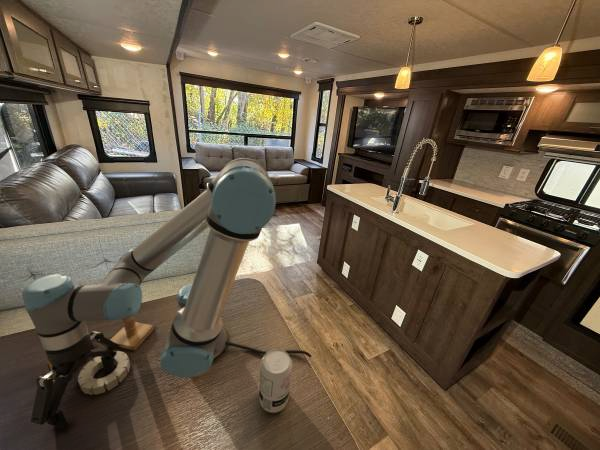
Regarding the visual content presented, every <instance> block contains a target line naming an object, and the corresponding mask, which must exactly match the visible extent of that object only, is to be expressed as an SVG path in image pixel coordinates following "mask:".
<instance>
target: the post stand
mask: <svg viewBox="0 0 600 450" xmlns="http://www.w3.org/2000/svg"><path fill="white" fill-rule="evenodd" d="M121 320H122V323H123V327H122V328H121V329H120V330H119V331H118V332H117V333H115V334H114V335H113V336H112V338H110V340H111V341H113V342H115V343H117V344H119V347H118V348H122V349H126V350H132V351H136V350H137V349H138V348H139V347H140V345H141V344H142V343H143V342H144V341H145V340H146V338H148V336H149V335H150V334H151V333H152V332H153V331H154V329H155V325H152V324H147V323H142V322H137V321H136V319H135V315H134V316H132V317H129V318H121Z"/></svg>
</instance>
